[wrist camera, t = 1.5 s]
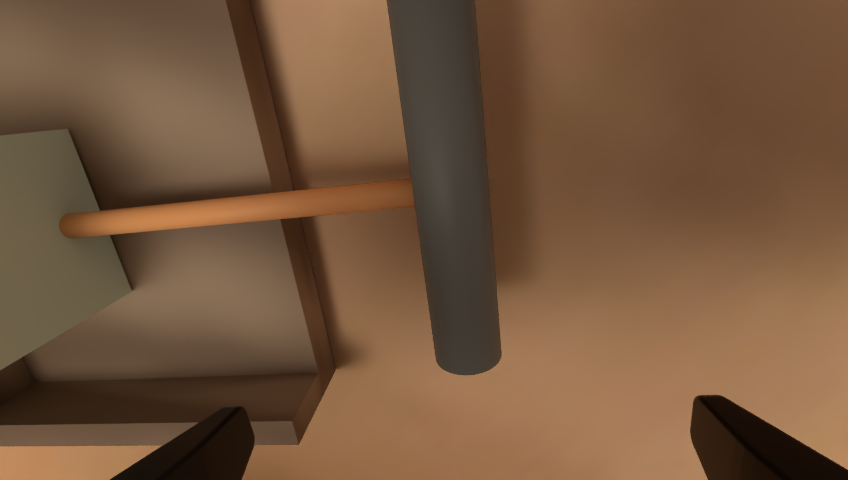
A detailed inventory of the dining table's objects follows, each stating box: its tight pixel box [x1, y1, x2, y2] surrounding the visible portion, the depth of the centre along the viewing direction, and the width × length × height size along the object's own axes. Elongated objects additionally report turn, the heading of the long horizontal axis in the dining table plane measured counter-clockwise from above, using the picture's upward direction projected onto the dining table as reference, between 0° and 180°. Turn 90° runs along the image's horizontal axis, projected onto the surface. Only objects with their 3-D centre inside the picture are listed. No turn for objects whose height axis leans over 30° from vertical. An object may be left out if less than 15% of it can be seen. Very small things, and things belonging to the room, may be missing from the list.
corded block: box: [0, 0, 501, 375], centre depth 11 cm, size 10×20×6 cm, turn 97°
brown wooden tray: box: [0, 0, 335, 446], centre depth 14 cm, size 16×14×4 cm
